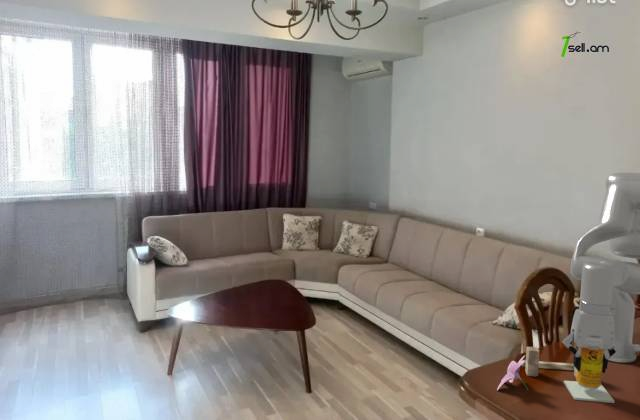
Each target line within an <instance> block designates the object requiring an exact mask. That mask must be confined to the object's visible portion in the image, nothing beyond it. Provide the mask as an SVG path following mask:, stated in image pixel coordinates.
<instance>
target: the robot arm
mask: <svg viewBox="0 0 640 420" xmlns="http://www.w3.org/2000/svg"><path fill="white" fill-rule="evenodd" d="M605 189H606V190H605V195H604V199H603V203H602V208H601V212H600V215H599V219H598V223H597V224H596V225H595V226H593V227H591V228H590V229H588V230H587V231H586V232H585V233H583V235H582V236H581V237H580V238H578V241H577V242H576V244H575V246H574V250H573V253H572V257H571V262H570V267H569V269H570V275H571V277H572V278H574V279H575V280H578V281H581V282H580V285H581V286H580V295H579V305H578V306H579V308H576V309H575V311H574V314H573V317H572V322H571V327H570V333H569V334H568V335H567V336H566V337H565V338H564V339H563V340H561V343H562V344H563V345H564V346H565V347H566V348H567V349H568V350H569V351H570V352H571V353H572V354H573V362H572V364H573V365H574V367H575V368H576V369H577V370H578V371H580V367H581V357H580V355H581V348H583V347H584V343H585V339H586V338H587V337H588V336H590V337H597V338H599V337H602V339H603V340H604V354H603V366H602V374H606V370H607V369H608V365H609V364H608V363H609V361H611V362H615V363H622V364H626V363H632V362H635V361H636V360H637V354H638V353H640V344H634V343H633V335H634V334H633V333H634V325H635V313H636V306H635V302H634V300H633V298H632V297H631V296H630V294H629V293H631V294H635V295H637V294H638V295H640V263H637V262H632V261H623V260H620V259H615V258H608V257H601V256H595V255H588V254H587V252H588V251H589V249H591V248H592V247H594V246H595V245H597V244H600V243H602V242H607V241H609V250H610V252H611V253H612V254H613V255H615V256H616V257H622V258H627V259H628V258H629V259H636V260H640V172H615V173H612V174H608V176H607V177H606V180H605ZM571 342H572V343H574V346H573V345H572V344H571Z"/></svg>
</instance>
